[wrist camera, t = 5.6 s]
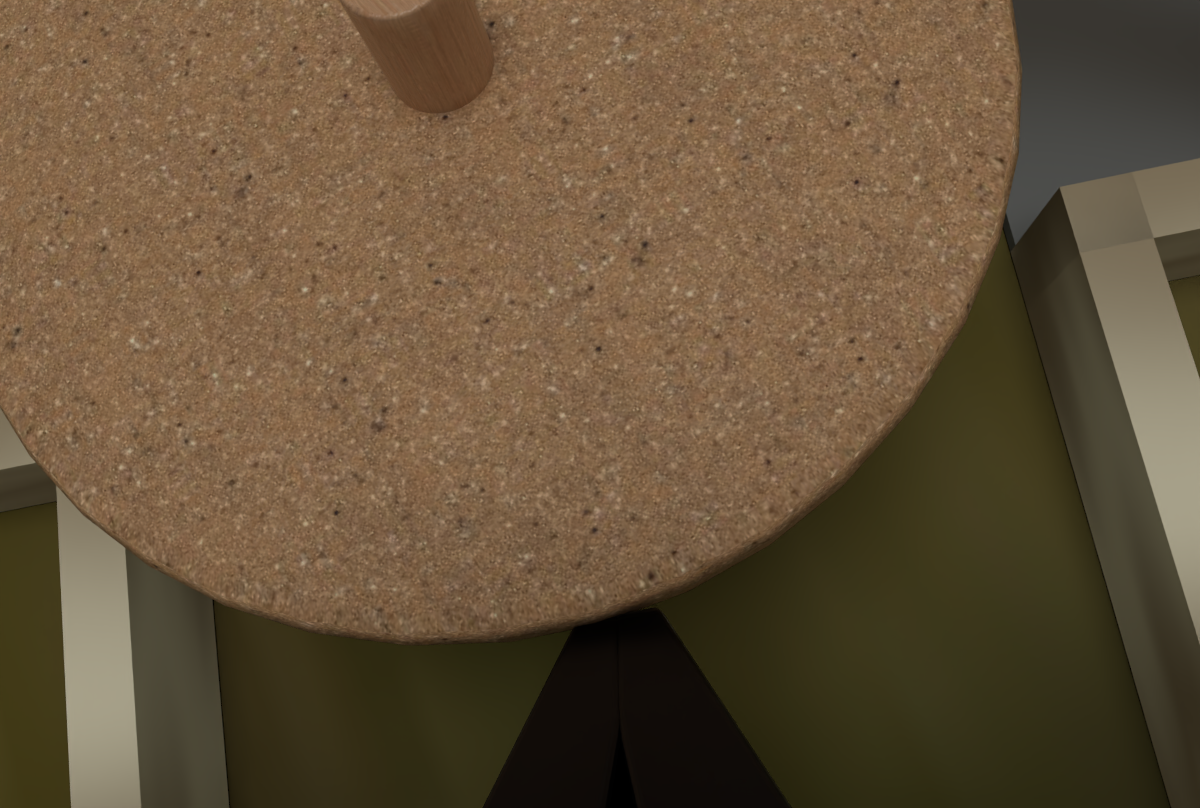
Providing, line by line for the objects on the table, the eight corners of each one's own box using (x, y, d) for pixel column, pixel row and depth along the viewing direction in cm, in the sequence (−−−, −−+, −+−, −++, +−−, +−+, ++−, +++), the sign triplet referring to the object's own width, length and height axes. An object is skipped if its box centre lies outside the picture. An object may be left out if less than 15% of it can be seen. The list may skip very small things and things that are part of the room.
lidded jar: (467, 781, 16) (113, 969, 7) (163, 254, 19) (-379, -118, 9) (1033, 393, 16) (1429, 71, 7) (652, -69, 19) (582, -731, 10)
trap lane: (1808, 1361, 13) (2294, 1684, 9) (-87, 1586, 14) (-387, 1939, 10) (1134, -397, 19) (1240, -659, 15) (-103, -94, 21) (-290, -260, 17)
